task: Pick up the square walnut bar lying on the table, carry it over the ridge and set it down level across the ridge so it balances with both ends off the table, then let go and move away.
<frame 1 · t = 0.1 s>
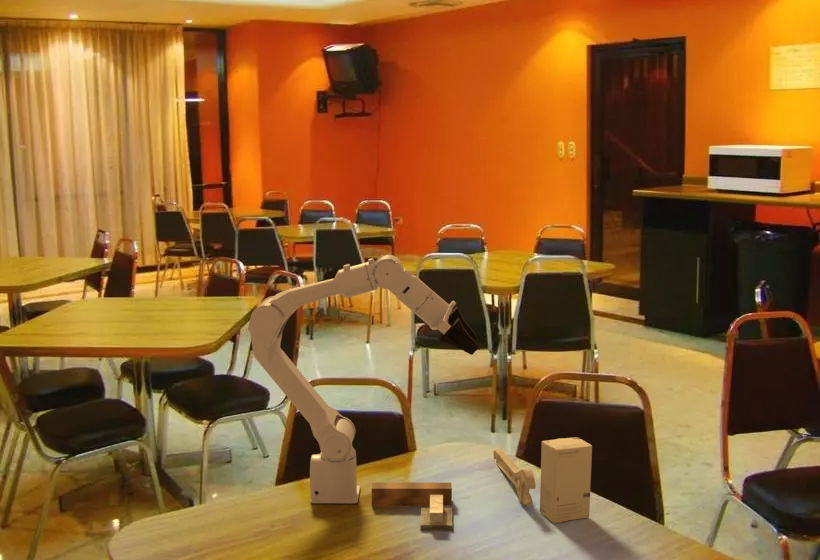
hand: (474, 345, 178), 32 cm above the table, tool tilted 50°, fingers open, 7 cm apart
ridge: (436, 520, 173), on the table
skincare box: (564, 515, 175), on the table
wrench: (512, 487, 190), on the table
walnut bar: (411, 504, 181), on the table
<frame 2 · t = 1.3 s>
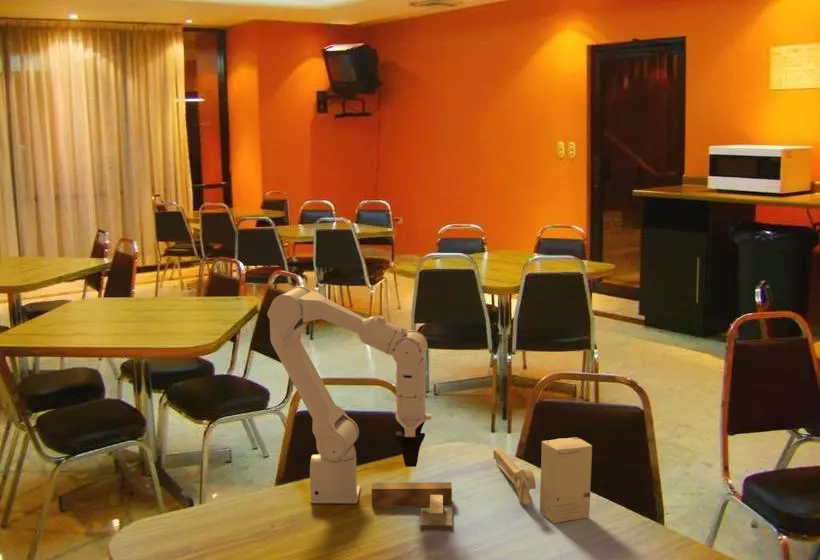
hand: (411, 458, 180), 9 cm above the table, tool pointing down, fingers open, 7 cm apart
nothing on the table moved.
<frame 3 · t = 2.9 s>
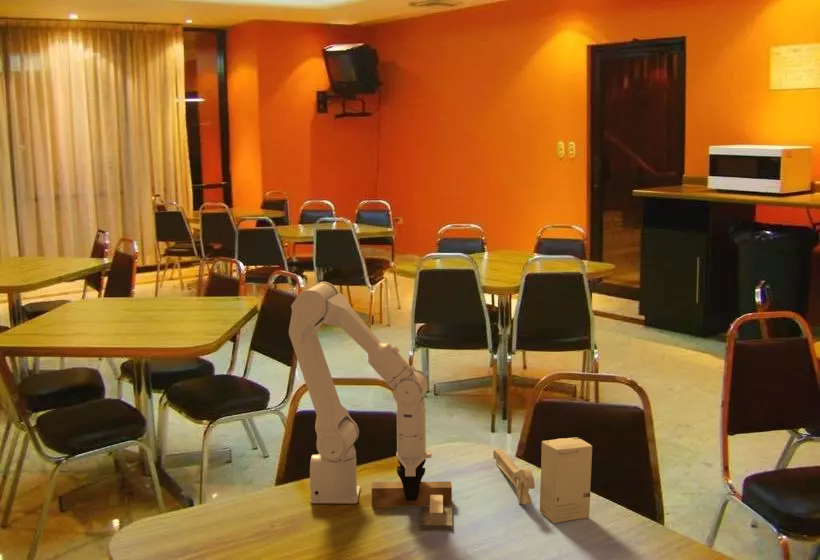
hand: (411, 496, 181), 1 cm above the table, tool pointing down, fingers closed on walnut bar, 3 cm apart
walnut bar: (411, 503, 181), on the table, touching gripper
everything else where it was.
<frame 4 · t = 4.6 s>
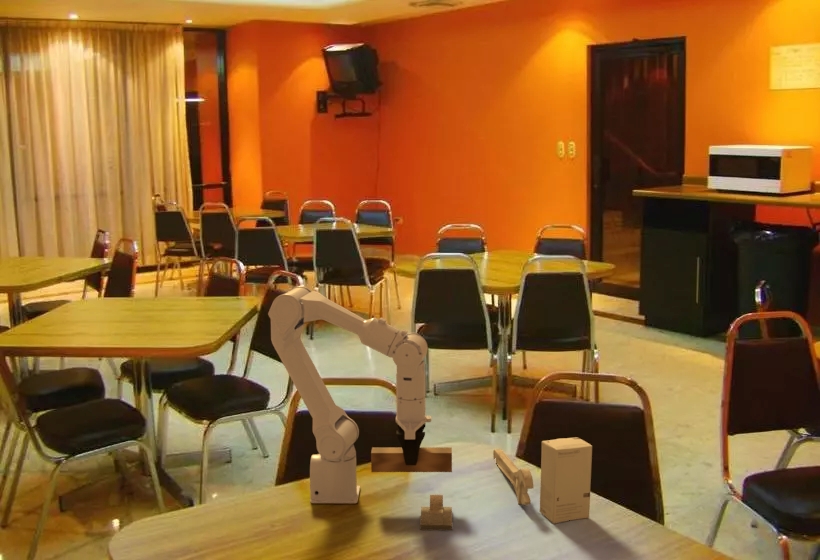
hand: (411, 461, 180), 9 cm above the table, tool pointing down, fingers closed on walnut bar, 3 cm apart
walnut bar: (411, 469, 180), point 7 cm above the table, touching gripper
everything else where it was.
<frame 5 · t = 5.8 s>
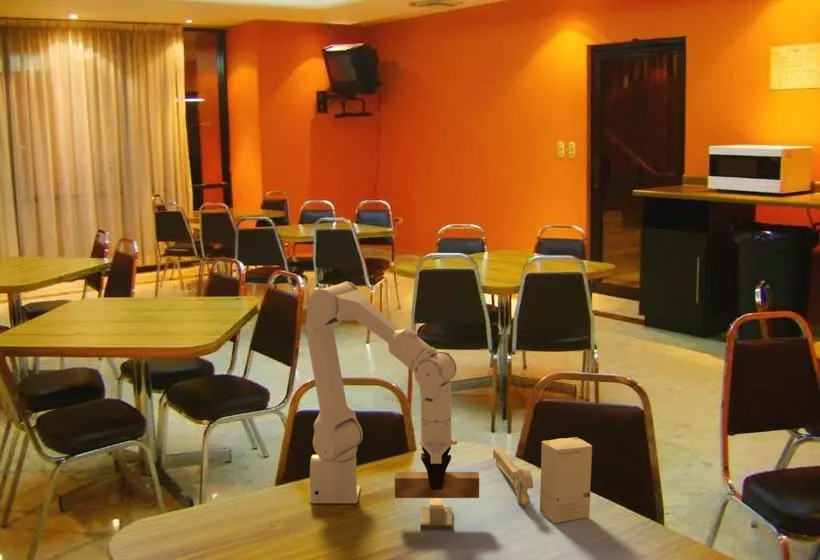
hand: (436, 485, 172), 7 cm above the table, tool pointing down, fingers closed on walnut bar, 3 cm apart
walnut bar: (437, 494, 172), point 5 cm above the table, touching gripper
everything else where it was.
when the fingers open (6 cm above the table, at t = 6.4 s): walnut bar stays where it is, resting on ridge.
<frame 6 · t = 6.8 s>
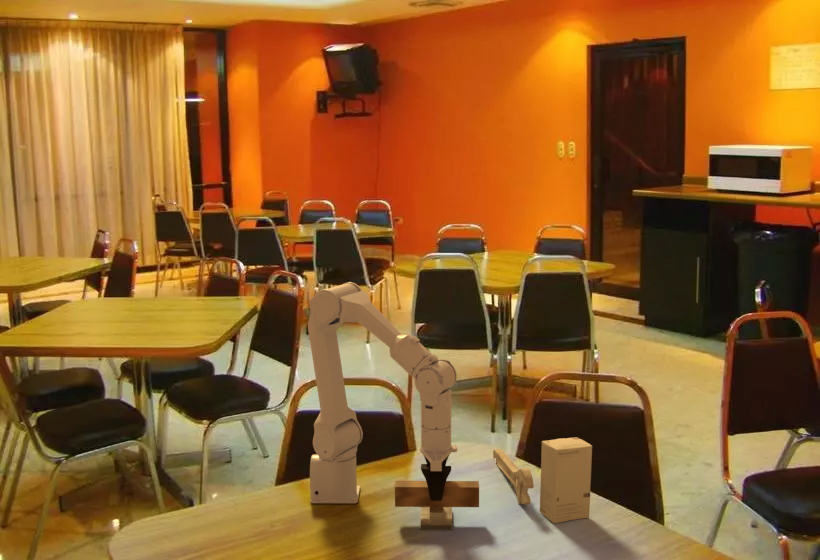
hand: (436, 492, 172), 6 cm above the table, tool pointing down, fingers open, 6 cm apart
walnut bar: (437, 503, 173), point 4 cm above the table, touching ridge
everything else where it was.
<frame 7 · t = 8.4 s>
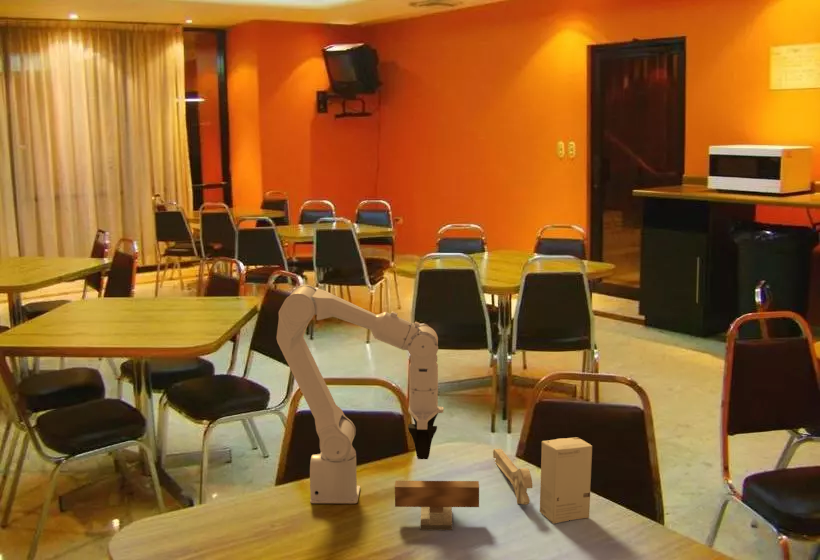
hand: (423, 451, 182), 10 cm above the table, tool pointing down, fingers open, 7 cm apart
nothing on the table moved.
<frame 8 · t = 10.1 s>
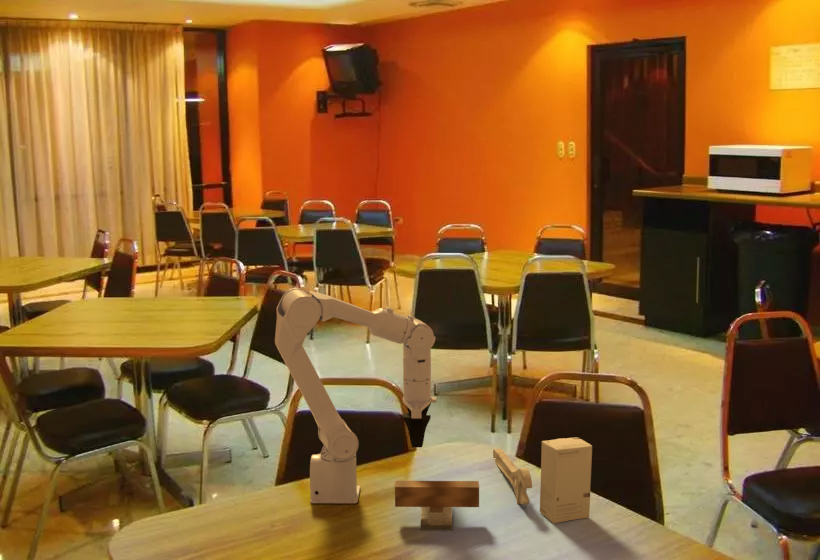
hand: (417, 440, 188), 10 cm above the table, tool pointing down, fingers open, 7 cm apart
nothing on the table moved.
at the end: walnut bar inside the target area on the ridge (0.1 cm from its centre), point 3.5 cm above the ridge's base; walnut bar touching ridge; walnut bar tilted 0° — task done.
